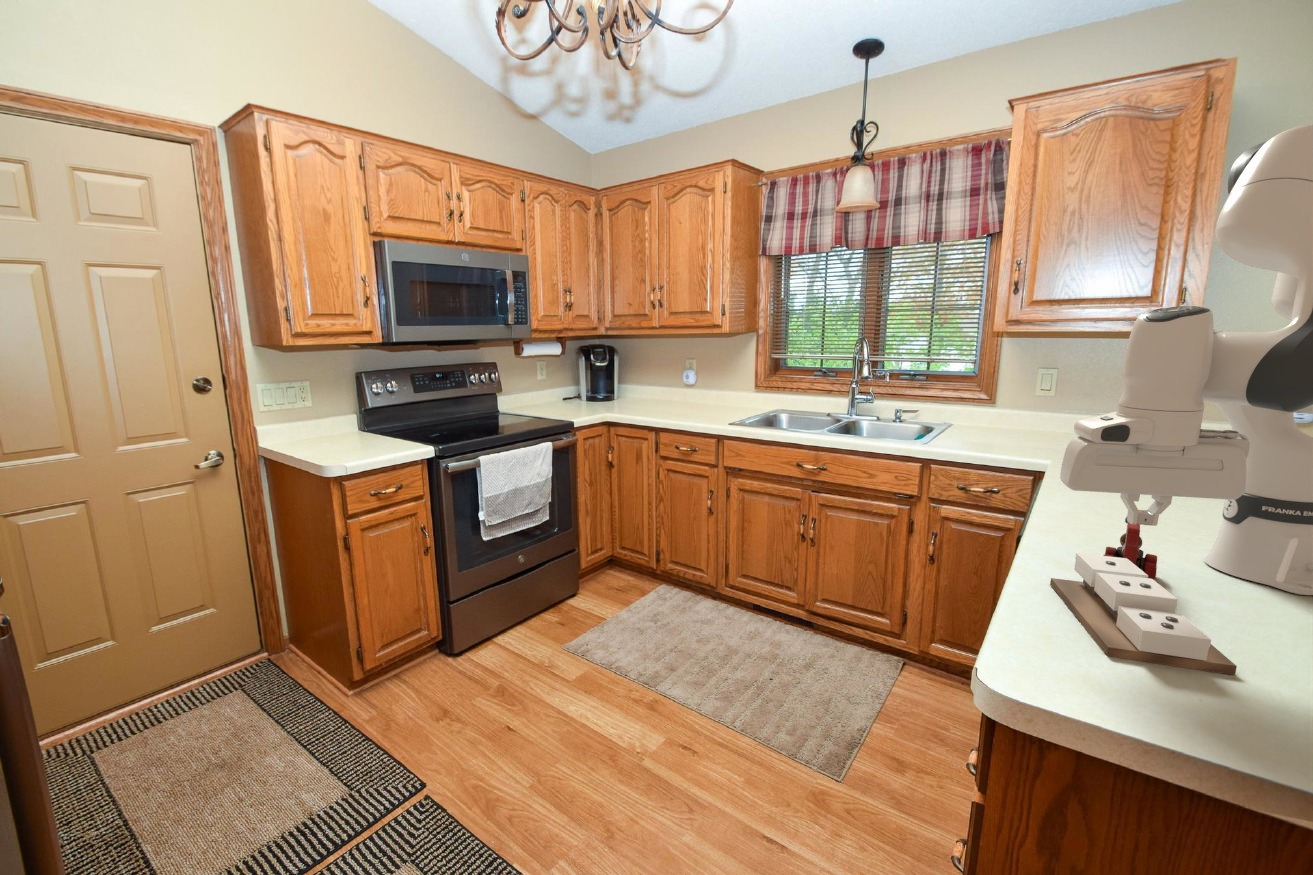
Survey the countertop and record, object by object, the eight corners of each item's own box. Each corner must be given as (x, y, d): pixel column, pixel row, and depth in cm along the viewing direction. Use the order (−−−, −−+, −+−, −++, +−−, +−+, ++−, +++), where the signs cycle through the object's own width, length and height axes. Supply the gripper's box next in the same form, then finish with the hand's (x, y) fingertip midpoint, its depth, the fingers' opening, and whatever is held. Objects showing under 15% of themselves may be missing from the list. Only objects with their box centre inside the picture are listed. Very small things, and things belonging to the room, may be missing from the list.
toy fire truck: (1154, 571, 99) (1164, 514, 97) (1153, 595, 89) (1164, 533, 88) (1103, 561, 103) (1112, 506, 101) (1097, 583, 94) (1107, 523, 92)
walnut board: (1146, 596, 89) (1149, 577, 88) (1234, 675, 68) (1240, 650, 68) (1049, 584, 93) (1052, 566, 92) (1106, 655, 73) (1110, 632, 72)
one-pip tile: (1124, 574, 90) (1127, 557, 89) (1145, 593, 83) (1148, 574, 83) (1073, 569, 92) (1076, 551, 91) (1090, 586, 86) (1093, 567, 85)
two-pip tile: (1149, 596, 82) (1152, 577, 82) (1174, 618, 76) (1177, 597, 75) (1093, 589, 84) (1096, 571, 84) (1113, 610, 78) (1116, 590, 78)
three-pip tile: (1176, 633, 75) (1180, 612, 75) (1207, 660, 69) (1211, 638, 68) (1115, 624, 77) (1118, 604, 77) (1139, 650, 71) (1143, 628, 70)
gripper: (1236, 426, 78) (1219, 522, 80) (1062, 421, 84) (1051, 511, 86) (1269, 435, 72) (1249, 538, 74) (1079, 429, 78) (1067, 525, 80)
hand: (1141, 523), depth 80 cm, fingers closed
